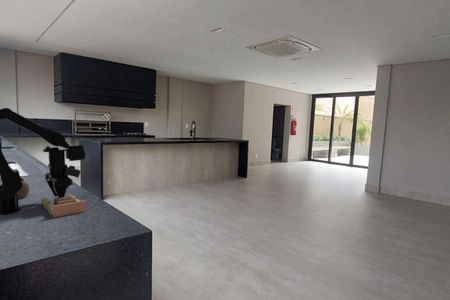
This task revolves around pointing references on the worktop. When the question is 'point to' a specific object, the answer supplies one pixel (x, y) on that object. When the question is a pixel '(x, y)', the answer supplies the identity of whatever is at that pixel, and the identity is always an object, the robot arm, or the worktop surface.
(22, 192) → the vase
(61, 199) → the keeper
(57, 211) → the end stop
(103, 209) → the worktop surface
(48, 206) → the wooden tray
